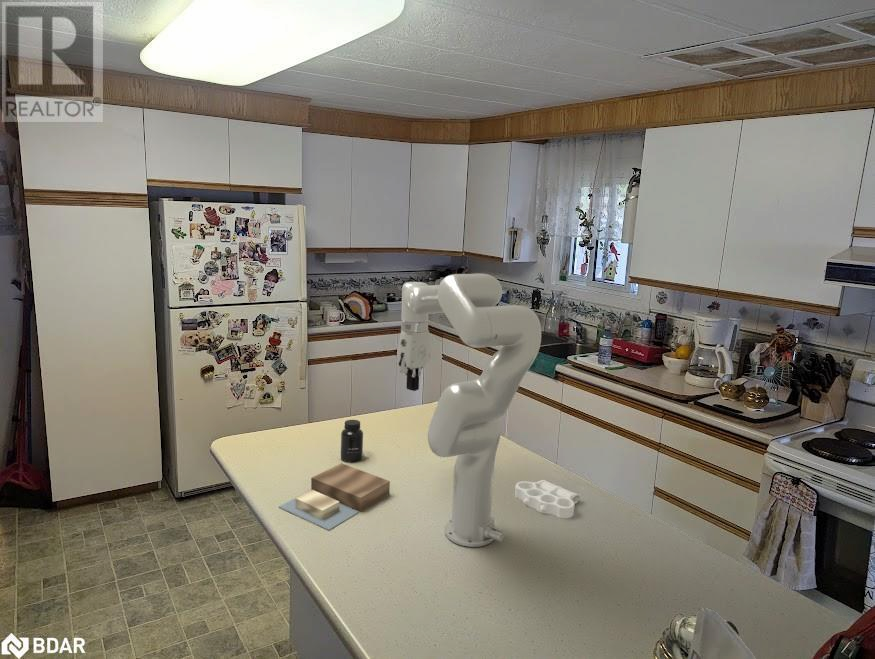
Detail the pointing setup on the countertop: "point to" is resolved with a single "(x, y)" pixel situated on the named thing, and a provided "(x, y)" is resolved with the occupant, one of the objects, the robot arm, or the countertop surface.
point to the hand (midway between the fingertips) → (412, 389)
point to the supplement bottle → (351, 441)
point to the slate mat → (326, 523)
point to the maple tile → (317, 504)
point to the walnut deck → (351, 486)
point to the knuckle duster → (547, 498)
